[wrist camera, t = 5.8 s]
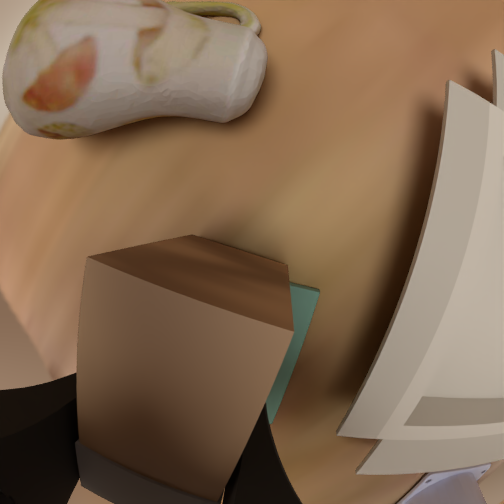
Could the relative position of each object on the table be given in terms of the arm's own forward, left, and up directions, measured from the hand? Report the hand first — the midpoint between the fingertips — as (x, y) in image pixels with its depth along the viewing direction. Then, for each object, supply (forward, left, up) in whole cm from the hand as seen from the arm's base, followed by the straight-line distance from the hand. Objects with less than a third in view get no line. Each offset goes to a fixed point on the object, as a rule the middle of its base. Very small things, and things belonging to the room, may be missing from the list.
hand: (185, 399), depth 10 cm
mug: (+12, +5, -5) cm, 14 cm away
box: (+1, 0, -3) cm, 3 cm away
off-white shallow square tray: (+6, -16, -4) cm, 18 cm away
